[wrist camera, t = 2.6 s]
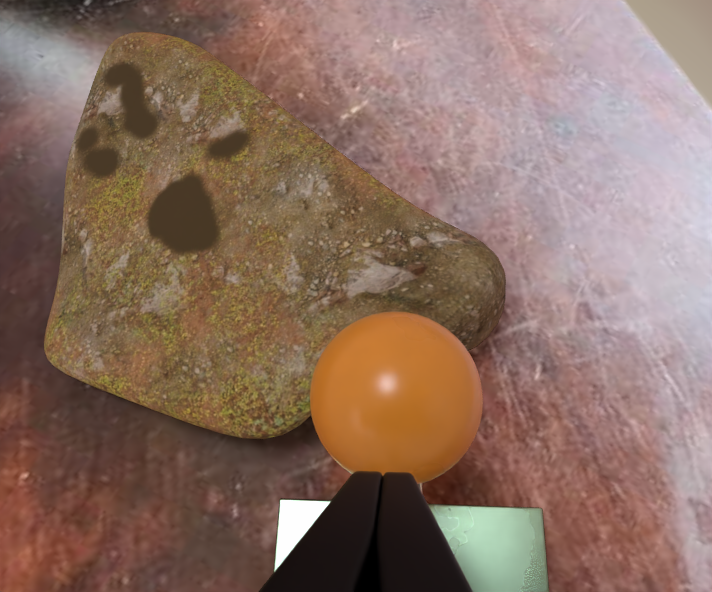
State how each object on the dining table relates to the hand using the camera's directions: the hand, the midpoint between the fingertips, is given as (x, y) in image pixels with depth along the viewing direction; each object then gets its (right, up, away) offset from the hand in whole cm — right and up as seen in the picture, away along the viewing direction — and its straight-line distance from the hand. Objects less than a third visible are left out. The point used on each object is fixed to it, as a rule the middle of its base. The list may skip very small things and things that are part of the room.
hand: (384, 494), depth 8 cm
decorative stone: (-8, +5, +18) cm, 20 cm away
